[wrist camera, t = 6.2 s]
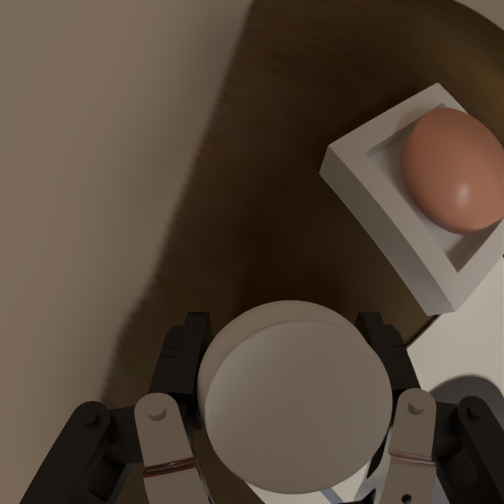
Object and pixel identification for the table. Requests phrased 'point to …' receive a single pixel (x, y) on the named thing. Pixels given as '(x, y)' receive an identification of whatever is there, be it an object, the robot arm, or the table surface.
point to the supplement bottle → (293, 397)
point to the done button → (454, 171)
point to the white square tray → (408, 208)
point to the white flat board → (444, 373)
